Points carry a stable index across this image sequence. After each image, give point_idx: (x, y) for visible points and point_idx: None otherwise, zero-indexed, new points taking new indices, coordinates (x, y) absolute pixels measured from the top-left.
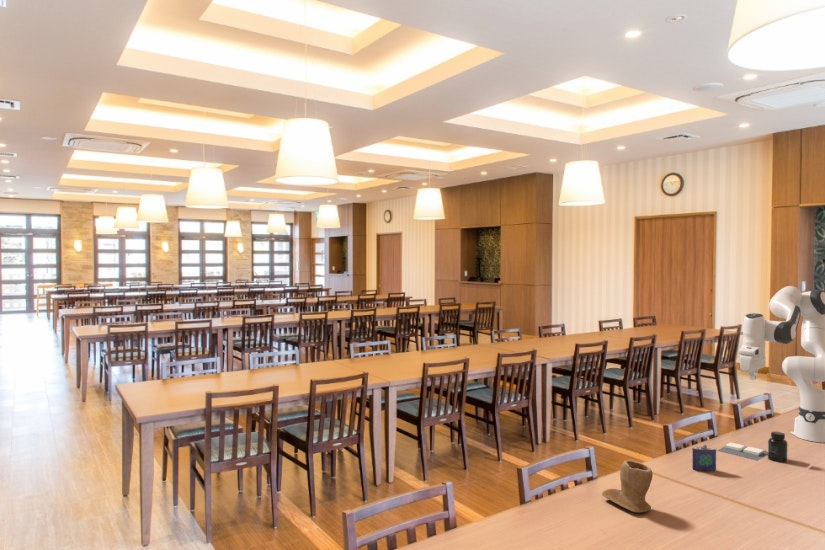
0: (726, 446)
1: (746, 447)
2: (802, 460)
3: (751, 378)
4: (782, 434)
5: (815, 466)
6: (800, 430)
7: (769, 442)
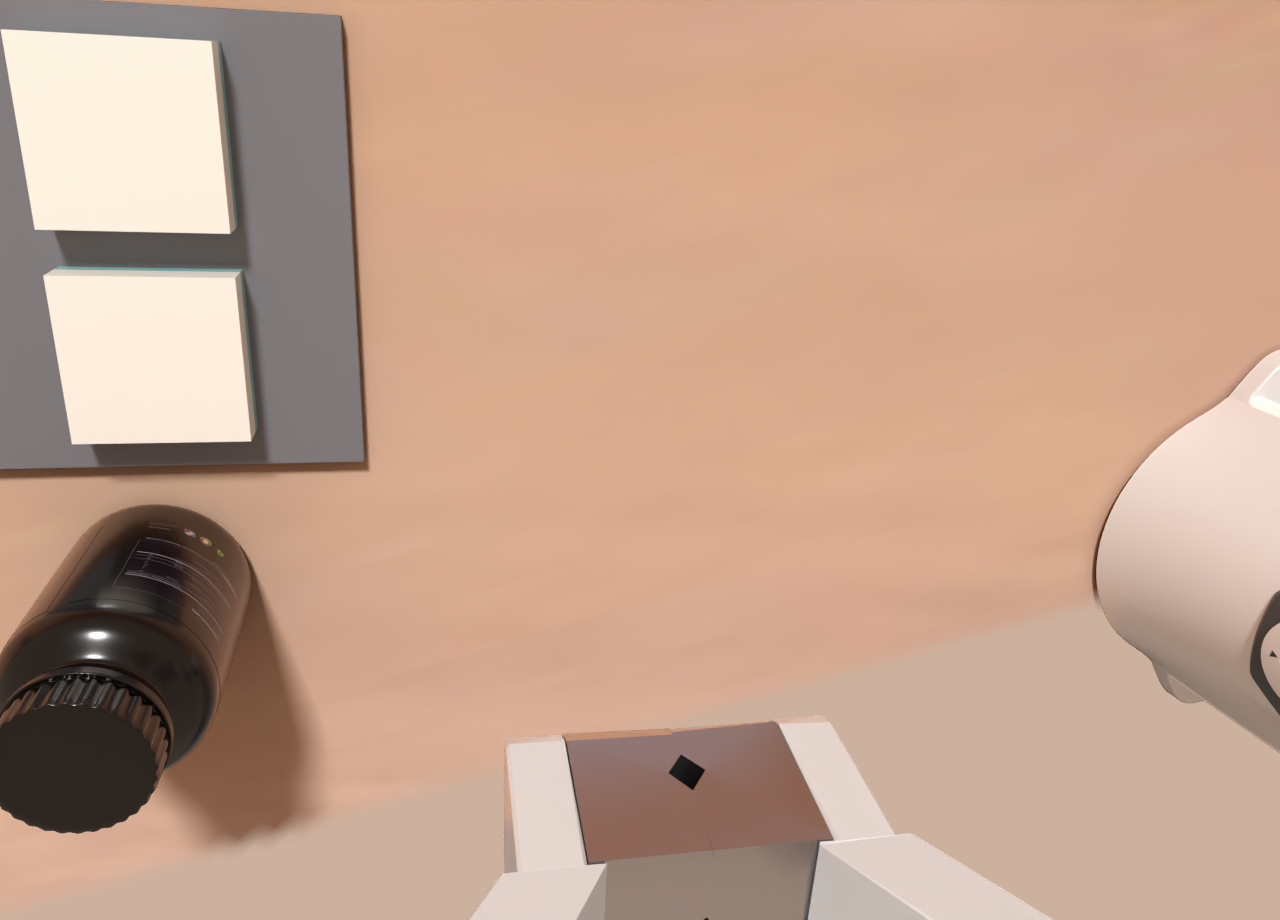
0: (11, 49)
1: (319, 218)
2: (407, 693)
3: (510, 818)
4: (45, 827)
5: (320, 802)
6: (1214, 491)
7: (15, 633)
